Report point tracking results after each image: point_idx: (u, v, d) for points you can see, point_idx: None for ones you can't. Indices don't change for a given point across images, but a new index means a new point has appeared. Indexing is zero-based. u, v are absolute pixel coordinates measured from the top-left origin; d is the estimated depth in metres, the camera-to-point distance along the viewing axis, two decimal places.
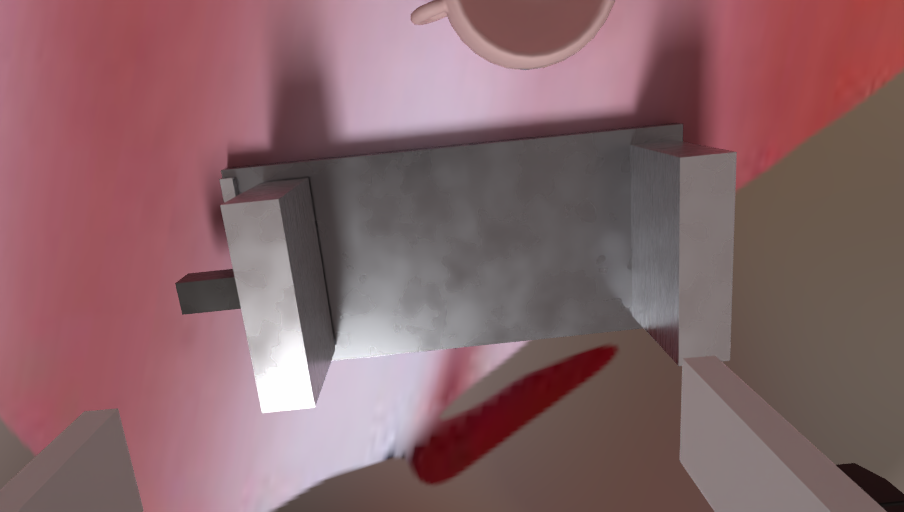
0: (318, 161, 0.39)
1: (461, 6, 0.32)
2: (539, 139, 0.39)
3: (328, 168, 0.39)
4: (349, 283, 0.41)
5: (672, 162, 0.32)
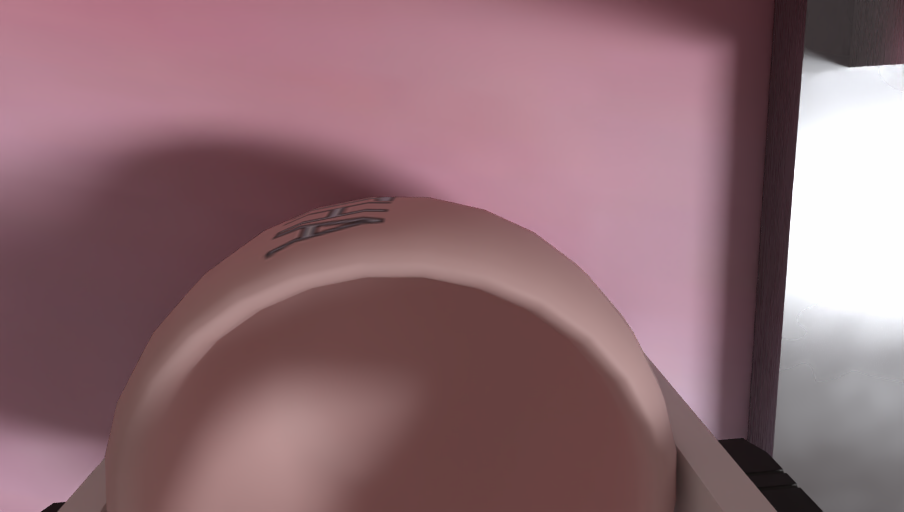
0: None
1: None
2: (786, 329, 0.14)
3: None
4: None
5: None
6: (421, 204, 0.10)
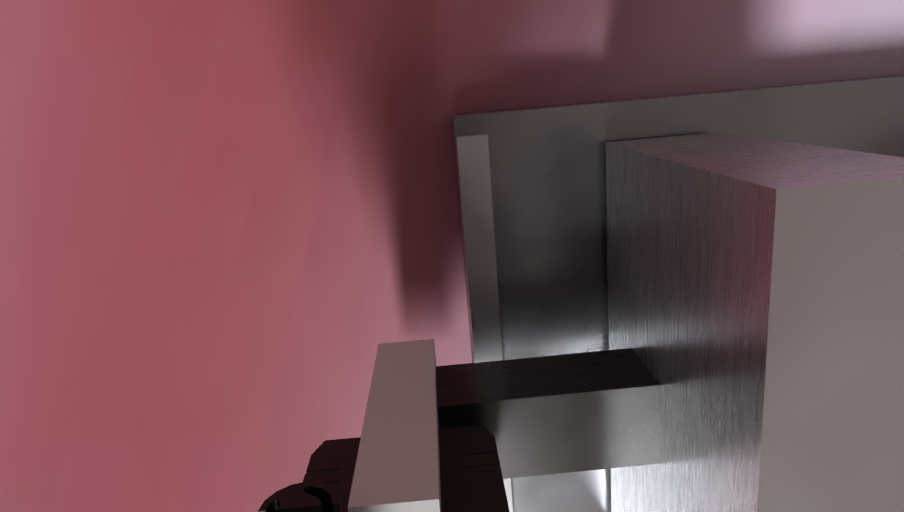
0: (689, 98, 0.16)
1: None
2: None
3: (710, 115, 0.16)
4: None
5: None
6: None
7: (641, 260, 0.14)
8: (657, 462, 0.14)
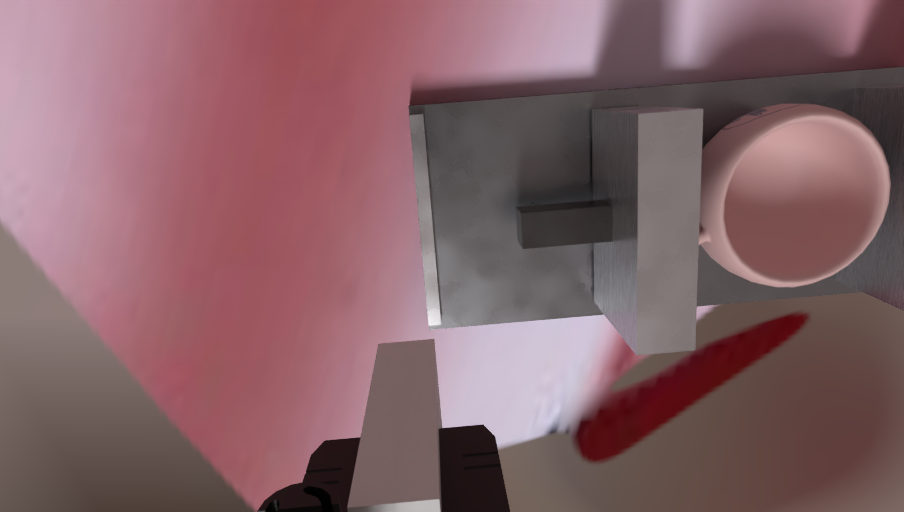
0: (515, 98, 0.35)
1: (729, 242, 0.32)
2: (757, 79, 0.35)
3: (525, 106, 0.35)
4: None
5: None
6: None
7: (605, 156, 0.33)
8: (611, 241, 0.33)
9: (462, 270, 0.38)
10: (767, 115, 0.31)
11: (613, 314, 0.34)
